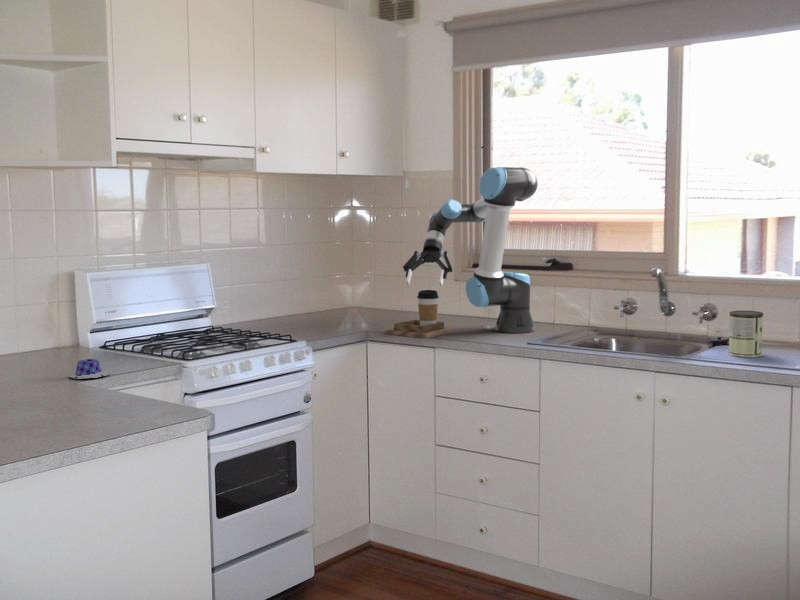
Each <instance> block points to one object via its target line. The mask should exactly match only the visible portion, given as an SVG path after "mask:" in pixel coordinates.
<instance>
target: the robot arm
mask: <svg viewBox="0 0 800 600" xmlns="http://www.w3.org/2000/svg"><path fill="white" fill-rule="evenodd" d="M478 187H479V191H480V192H479V194H480V196H481V198H480V199H479V200H477V201H475V202H473V203H465V204H464V203H463V204H462V203H460V202H459V201H458V200H455V199H451V198H450V199H448V200H446V201H445V203H444V204H442V206H441V207H440V209H439V210H438V211H436V212H434V213H432V214H431V216H430V219H429V221H428V227H427V232H426V236H425V238H424V239H425V240H424V244H423V247H422V251H421V252H418V251H417V250H415V251H414V253H413V255H412V256H411V257H410V258H409V259H408V260H407V261H406V262H405V263H404V265H402V268H403V271H404V272H405V278H406V281H405V284H406V286H408V287H409V286H410V285H411V280H412V277H413V271H414V270H416V269H417V268H419V267H420V266H421V265H424V264H425V263H426V264H427V263H428V264H429V263H430V264H434V263H436V264H437V265H438V266H439V268H440V269H441V273H440V278H439V286H440V287H443V284H444V280H445V279H446V280H447V276H448V273H453V267H452V264H451V262H450V260H449V255H448V251H446V250H444V251H443V252H442V250H443V245H444V241H445V236H446V232H447V230H448V229H449V228H450V227H451V226H452V224H454V223H458V224H459V223H482V222H483V223H484V226H483V235H482V240H481V242H482V243H481V247H480V248H481V249H480V256H479V264H478V267H476V268H475V269H474V271H473V276H471V277H469V278H468V279H467V280H466V282H465V293H466V297H467V299H468V301H469V303H470V304H471V305H472V306H473V307H478V308H488V307H499V306H500V307H499V308H500V309H499V314H498V316H497V319H496V322H495V331H496V332H500V333H505V334H507V333H510V334H522V333H523V334H524V333H525V334H526V333H530V332H531V333H532V332H534V331H535V323H534V320H533V317H532V314H531V306H530V305H531V300H530V298H531V279H530V278H531V277H530V275H529V274H527V273H521V272H520V273H518V272H510V271H502V266H503V260H504V259H503V258H504V253H505V252H504V251H505V245H506V237H507V231H508V227H509V226H508V224H509V219H510V218H509V217H510V211H511V209H512V208H514V206H515V205H516V202H524V201H525V200H528V199H530V198H531V197H532V196H533V195H534V194H535V193H536V192H537V189H538V179H537V176H536V174H535V173H534V172H533V171H532V170H530V169H529V168H526V167H521V166H520V167H514V166H513V167H509V166H506V167H505V166H496V167H489V168H487V169H486V171H484V172H483V174H482V175H481V177H480V181H479V186H478ZM440 258H443V259H444V261H445V264H446V265H445V264H444V263H443V262H442V260H441V259H440Z"/></svg>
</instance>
